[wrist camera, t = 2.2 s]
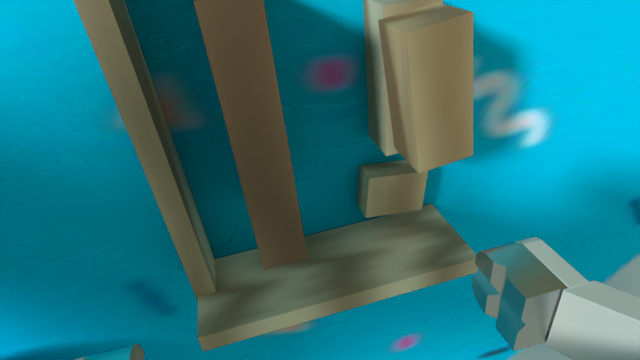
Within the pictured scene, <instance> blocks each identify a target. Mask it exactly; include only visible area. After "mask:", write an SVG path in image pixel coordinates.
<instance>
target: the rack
mask: <svg viewBox="0 0 640 360" xmlns="http://www.w3.org/2000/svg"><path fill="white" fill-rule="evenodd" d="M74 3H75V5H76V7H77V10H78V12H79V15H80V17H81V20H82V22H83V24H84V27H85V29H86V32H87V34H88V37H89V39H90V41H91V44H92V46H93V49H94V51H95V53H96V56H97V58H98V61H99V63H100V66H101V68H102V70H103V73H104V75H105V78H106V80H107V83H108V85H109V87H110V90H111V92H112V95H113V97H114V99H115V102H116V104H117V107H118V109H119V112H120V114H121V116H122V119H123V121H124V124H125V126H126V129H127V131H128V133H129V136H130V138H131V141H132V143H133V145H134V148H135V150H136V153H137V155H138V158H139V160H140V162H141V165H142V167H143V170H144V172H145V175H146V177H147V179H148V182H149V184H150V187H151V189H152V191H153V194H154V196H155V199H156V201H157V204H158V206H159V208H160V211H161V213H162V216H163V218H164V221H165V223H166V225H167V228H168V230H169V233H170V235H171V237H172V240H173V242H174V245H175V247H176V250H177V252H178V254H179V257H180V259H181V262H182V264H183V267H184V269H185V271H186V274H187V276H188V279H189V281H190V283H191V286H192V288H193V291H194V293H195V296H196V298H197V300H198V332H197V338H198V340H199V343H200V345H201V347H202V349H203V351H206V350H210V349H213V348H217V347H220V346H224V345H227V344H231V343H234V342H238V341H241V340H245V339H248V338H251V337H255V336H258V335H262V334H265V333H269V332H272V331H276V330H279V329H283V328H286V327H289V326H293V325H296V324H300V323H303V322H307V321H310V320H314V319H317V318H321V317H324V316H328V315H331V314H334V313H338V312H341V311H345V310H348V309H352V308H355V307H359V306H362V305H366V304H369V303H373V302H376V301H379V300H383V299H386V298H390V297H393V296H397V295H400V294H404V293H407V292H411V291H414V290H418V289H421V288H424V287H428V286H431V285H435V284H438V283H442V282H445V281H449V280H452V279H456V278H459V277H462V276H466V275H469V274H473V273H476V272H477V271H478V267H477V266H476V264H475V259H476V254H475V253H474V251H473V250H472V249H471V248H470V247H469V246H468V245H467V243H466V242H465V241H464V240H463V239H462V238H461V237H460V235H459V234H458V233H457V232H456V231H455V230H454V229H453V227H452V226H451V225H450V224H449V223H448V222H447V221H446V219H445V218H444V217H443V216H442V215H441V214H440V213H439V211H438V210H437V209H436V208H435V207H434V206H433V205H432V204H429V205H425V206H422V210H416V211H410V212H403V213H396V214H390V215H386V216H382V217H378V218H374V219H370V220H366V221H362V222H358V223H354V224H350V225H347V226H343V227H339V228H335V229H331V230H327V231H323V232H319V233H315V234H311V235H307V236H304V238H305V244H306V250H307V256H308V259H305V260H301V261H297V262H294V263H290V264H286V265H282V266H278V267H275V268H271V269H267V270H264V269H263V265H262V261H261V258H260V254H259V250H258V248H256V249H252V250H248V251H244V252H240V253H237V254H233V255H229V256H225V257H221V258H217V259H214V256H213V253H212V250H211V247H210V244H209V241H208V238H207V236H206V233H205V230H204V227H203V224H202V221H201V218H200V215H199V213H198V210H197V207H196V204H195V201H194V198H193V195H192V193H191V190H190V187H189V184H188V181H187V178H186V175H185V172H184V170H183V167H182V164H181V161H180V158H179V155H178V152H177V150H176V147H175V144H174V141H173V138H172V135H171V132H170V129H169V127H168V124H167V121H166V118H165V115H164V112H163V109H162V106H161V104H160V101H159V98H158V95H157V92H156V89H155V86H154V84H153V81H152V78H151V75H150V72H149V69H148V66H147V63H146V61H145V58H144V55H143V52H142V49H141V46H140V43H139V41H138V38H137V35H136V32H135V29H134V26H133V23H132V20H131V18H130V15H129V12H128V9H127V6H126V3H125V0H74Z"/></svg>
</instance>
